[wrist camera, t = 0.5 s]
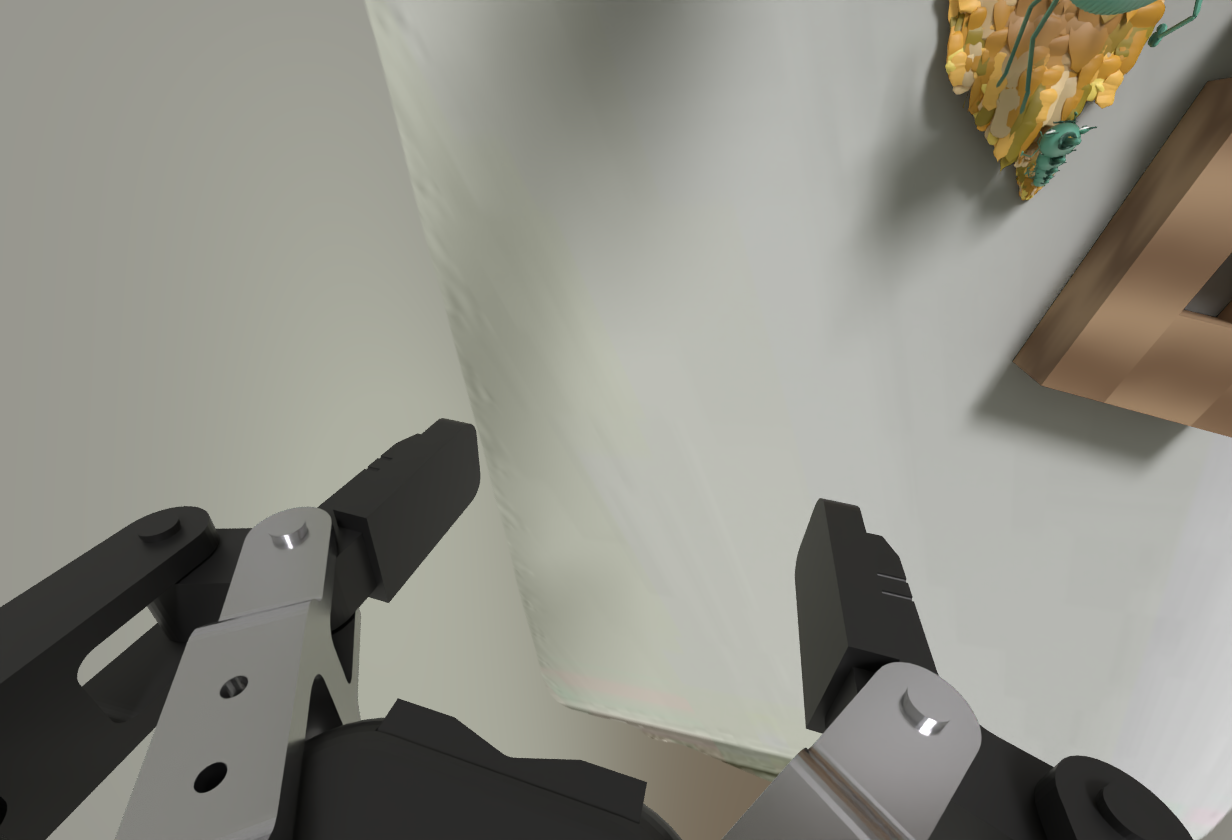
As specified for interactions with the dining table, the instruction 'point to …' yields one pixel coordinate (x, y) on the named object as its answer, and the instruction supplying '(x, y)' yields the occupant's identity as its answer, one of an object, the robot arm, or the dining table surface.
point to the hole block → (1153, 287)
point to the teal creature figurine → (1044, 70)
